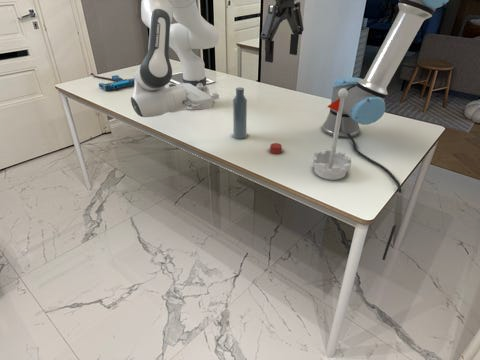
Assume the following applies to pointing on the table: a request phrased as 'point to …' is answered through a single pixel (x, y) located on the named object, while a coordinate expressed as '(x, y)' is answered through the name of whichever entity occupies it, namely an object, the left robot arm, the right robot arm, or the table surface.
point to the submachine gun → (117, 83)
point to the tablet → (178, 76)
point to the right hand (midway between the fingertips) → (281, 58)
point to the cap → (275, 148)
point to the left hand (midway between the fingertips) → (212, 92)
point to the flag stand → (333, 149)
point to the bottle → (240, 114)
